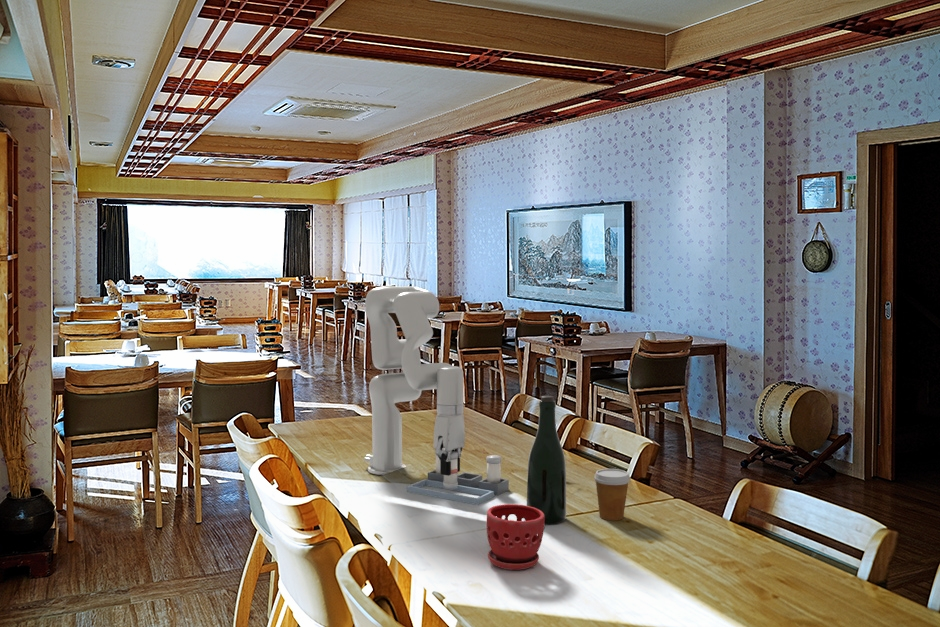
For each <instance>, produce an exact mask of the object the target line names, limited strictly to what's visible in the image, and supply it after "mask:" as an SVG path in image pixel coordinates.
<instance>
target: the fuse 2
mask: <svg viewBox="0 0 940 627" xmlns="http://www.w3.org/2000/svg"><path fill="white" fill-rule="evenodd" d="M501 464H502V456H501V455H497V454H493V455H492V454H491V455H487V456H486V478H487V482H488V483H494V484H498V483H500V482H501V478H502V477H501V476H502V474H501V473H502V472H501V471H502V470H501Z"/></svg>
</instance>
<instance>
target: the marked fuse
mask: <svg viewBox="0 0 940 627" xmlns="http://www.w3.org/2000/svg"><path fill="white" fill-rule="evenodd" d="M444 454H445V455H446V452H444ZM457 458H458V452H455V451H450V460H449V461H451V475H449V476H448V475H444V482H443V488H445V489H444V490H449V489H456V488H458V481H457V475H458V473H459V472H458V468H457ZM443 488H442V489H443Z"/></svg>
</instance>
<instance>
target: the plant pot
mask: <svg viewBox="0 0 940 627" xmlns="http://www.w3.org/2000/svg"><path fill="white" fill-rule="evenodd" d="M510 515H511V516H512V515H514V516H515V517H516V520H510V519H509V517H510ZM503 516H505V517H504V518H502V517H503ZM523 519H524V520H523ZM544 521H545V516H544V513H543V512H542V511H540V510H539V509H536V508H534V507H530V506H527V505H525V504H515V503H512V504H511V503H508V504H507V503H504V504H497V505H494V506H492V507H489V508H488V510H487V511H486V536H487V542H488V544H489V548H490V550H489V551H488V553H487V558H488V560H489V561H490V563H492V564H493V565H494V566H495V567H498V568H501V569H504V570H509V571H510V570H512V571H520V570H524V569H525V570H526V569H529V568H532V567H533V566H535V565H536V564H538V561H539V560H540V556H539V554H538V551H539V549H540V548H541V544H542V542H543V536H544V532H545V531H544V530H545V524H544Z"/></svg>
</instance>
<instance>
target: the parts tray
mask: <svg viewBox="0 0 940 627" xmlns="http://www.w3.org/2000/svg"><path fill="white" fill-rule="evenodd" d="M424 486H428V487H433V488H438V489H443V490H446V489H445V488H443V482H438V481H432V480H428V479H426V478H425V479H422V480H420V481H417V482H414V483H412V484H408V485H407V486H406V492H408V493H413V494H419V495H423V496H428V497H433V498H434V497H435V498H440V499H445V500H451V501H454V502H455V501H456V502H461V503H467V504H473V505H477V506H479V505H480V504H482V503H484V502H486V501H488V500H490V499H492V498H494V497H495V496H494V491H489V490H484V489H478V488H472V487H466V486H461V485H458V488H456V489H448V490H450V491H454V492H461V493H467V494H472V495H478V497H475V496H474V497H473V496H468V495H463V494H457V493H451V492H446V491H440V490H434V489H430V488H424Z"/></svg>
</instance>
